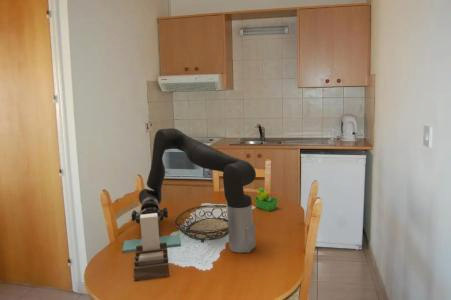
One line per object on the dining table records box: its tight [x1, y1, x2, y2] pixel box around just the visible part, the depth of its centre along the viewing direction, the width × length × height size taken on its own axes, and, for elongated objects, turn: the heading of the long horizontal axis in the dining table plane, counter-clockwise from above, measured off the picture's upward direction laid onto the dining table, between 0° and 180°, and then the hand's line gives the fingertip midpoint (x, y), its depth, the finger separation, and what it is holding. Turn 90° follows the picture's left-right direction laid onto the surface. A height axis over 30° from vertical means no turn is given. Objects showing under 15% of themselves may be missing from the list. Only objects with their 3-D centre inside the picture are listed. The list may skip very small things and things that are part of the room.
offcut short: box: [140, 251, 163, 256], centre depth 132 cm, size 2×8×4 cm, turn 101°
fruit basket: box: [253, 187, 279, 212], centre depth 190 cm, size 11×9×11 cm
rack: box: [133, 242, 170, 282], centre depth 130 cm, size 19×11×5 cm, turn 11°
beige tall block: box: [139, 213, 160, 251], centre depth 135 cm, size 4×6×16 cm, turn 101°
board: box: [121, 234, 182, 254], centre depth 149 cm, size 10×22×2 cm, turn 101°
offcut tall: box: [138, 256, 164, 267], centre depth 123 cm, size 2×8×6 cm, turn 101°
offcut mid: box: [139, 253, 163, 258], centre depth 127 cm, size 2×8×4 cm, turn 101°
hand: (149, 220), depth 146 cm, fingers open, 8 cm apart
